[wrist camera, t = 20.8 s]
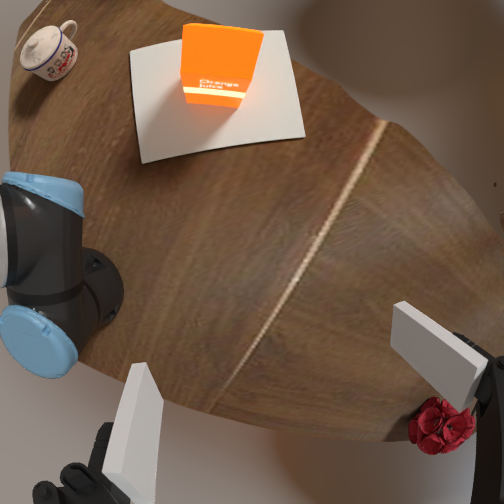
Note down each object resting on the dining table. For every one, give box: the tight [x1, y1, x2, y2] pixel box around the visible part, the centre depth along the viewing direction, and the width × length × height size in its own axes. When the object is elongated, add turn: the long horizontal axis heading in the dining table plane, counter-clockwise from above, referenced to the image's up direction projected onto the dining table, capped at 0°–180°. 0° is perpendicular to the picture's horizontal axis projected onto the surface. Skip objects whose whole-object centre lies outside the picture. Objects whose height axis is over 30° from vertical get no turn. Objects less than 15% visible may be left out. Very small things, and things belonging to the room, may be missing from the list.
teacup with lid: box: [20, 20, 78, 81], centre depth 29 cm, size 12×9×12 cm
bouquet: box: [408, 397, 475, 455], centre depth 65 cm, size 22×24×30 cm
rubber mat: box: [130, 31, 305, 164], centre depth 42 cm, size 28×22×1 cm
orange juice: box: [180, 23, 264, 108], centre depth 32 cm, size 8×9×20 cm
